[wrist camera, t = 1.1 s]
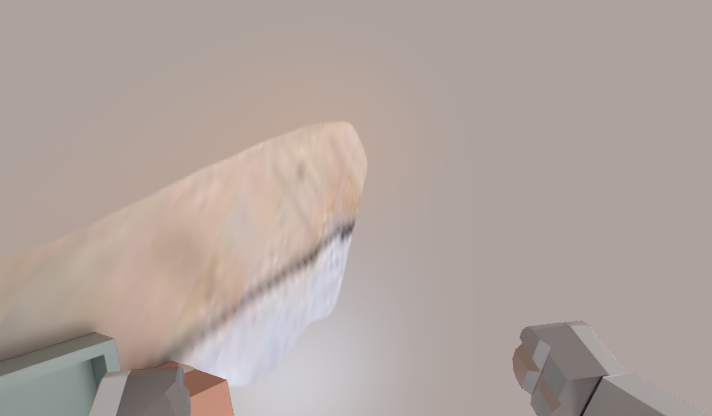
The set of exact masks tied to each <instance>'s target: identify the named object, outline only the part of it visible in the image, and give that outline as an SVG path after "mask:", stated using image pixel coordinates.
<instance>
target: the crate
mask: <svg viewBox="0 0 712 416" xmlns="http://www.w3.org/2000/svg"><path fill="white" fill-rule="evenodd" d="M117 371H121V369H120V364H119V359H118V354H117V349H116V344H115V339H114V338H111V337H108V336H105V335H102V334H99V333H96V332H94V333H91V334H88V335H84V336H81V337H78V338H75V339H72V340H68V341H65V342H62V343H59V344H56V345H52V346H49V347H46V348H43V349H40V350H36V351H33V352H30V353H27V354H24V355H20V356H17V357H14V358H11V359H8V360H4V361H1V362H0V416H88V415H89V412H90V409H91V407H92V404H93V401H94V398H95V396H96V393H97V390H98V387H99V385H100V382H101V380H102V378H103V377H104V376H105V374H106V373H107V372H117Z"/></svg>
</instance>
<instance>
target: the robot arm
mask: <svg viewBox="0 0 712 416" xmlns="http://www.w3.org/2000/svg"><path fill="white" fill-rule="evenodd" d="M520 339H521V341H522V342H523V343H522V344H521V345H520V346H519V347H518V348H517V349H516V350H515V352H514V356H513V367H514V368H513V369H514V373H515V375H516V378H517V380H518V382H519V384H520V386H521V388H523V389H524V390H525V391H527V392H528V393H530V394H531V395H532V396H531V406H532V407H533V409H534V411H535V413H536V415H537V416H708V415H706V414H704V413H703V412H701V411H699V410H697V409H696V408H694V407H692V406H691V405H689V404H687V403H685V402H684V401H682V400H680V399H678V398H676V397H675V396H673V395H671V394H670V393H668V392H666V391H664V390H663V389H661V388H659V387H658V386H656V385H654V384H652V383H651V382H649V381H647V380H645V379H644V378H642V377H640V376H639V375H637V374H635V373H627V371H626V370H625V369H624V368H623V366H622V365H621V364H620V363H619V362H618V360H617V359H616V358H615V357H614V356H613V354H612V353H611V352H610V351H609V350H608V348H607V347H606V346H605V345H604V343H603V342H602V341H601V340H600V339H599V337H598V336H597V335H596V334H595V333H594V331H593V330H592V329H591V328H590V326H589V325H588V324H587V323H585V322H583V321H575V322H566V323H554V324H546V325H538V326H530V327H526V328H524V329H523V330H522V332H521V335H520ZM184 379H185V374H184V370H183V367H182V366H172V367H160V368H149V369H137V370H127V371H117V372H107V373H106V374H105V376H104V377H103V378H102V380H101V382H100V385H99V387H98V390H97V393H96V396H95V398H94V401H93V404H92V407H91V409H90V412H89V415H88V416H191V401H190V394H189V389H188V388H187V387H185V386H183V385H184Z"/></svg>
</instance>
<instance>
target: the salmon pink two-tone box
mask: <svg viewBox="0 0 712 416" xmlns="http://www.w3.org/2000/svg"><path fill="white" fill-rule="evenodd" d="M172 366H182V367H183V370H184V374H185V379H184V385H183V386H185V387H187V388H188V389H189V394H190V401H191V416H234V414H233V408H232V403H231V398H230V393H229V388H228V383H227V380H225V379H222V378H219V377H217V376H214V375H211V374H208V373H205V372H202V371H199V370H196V369H195V368H193V367H190V366H187V365H184V364H179V363H176V362H173V361H171V362H169V363H166V364H164V365H161V366H159V367H156V368H160V367H172Z"/></svg>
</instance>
